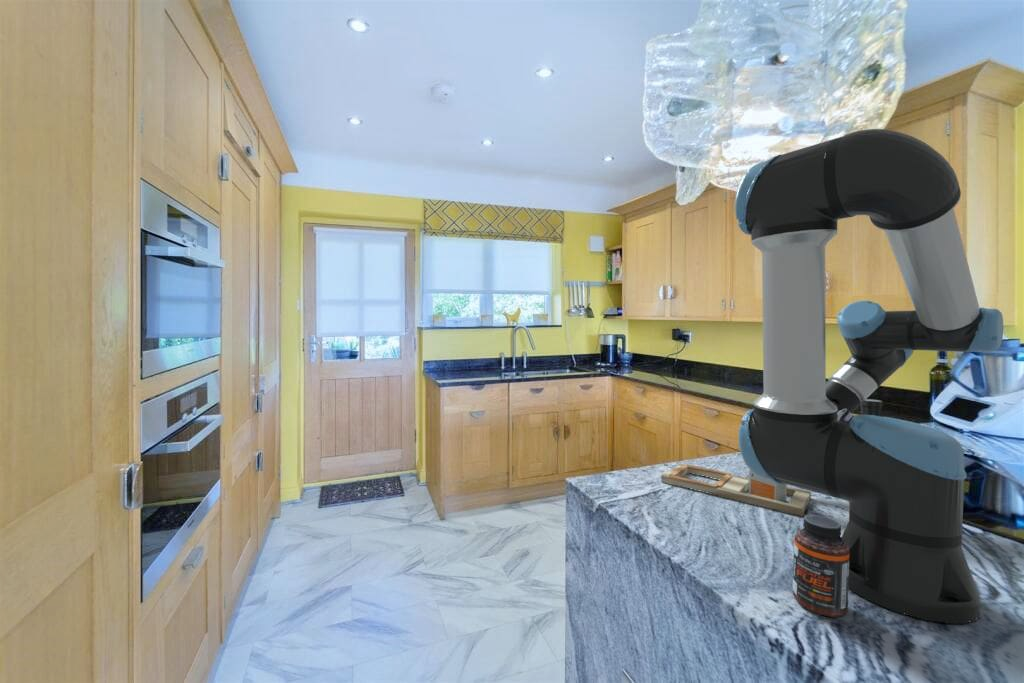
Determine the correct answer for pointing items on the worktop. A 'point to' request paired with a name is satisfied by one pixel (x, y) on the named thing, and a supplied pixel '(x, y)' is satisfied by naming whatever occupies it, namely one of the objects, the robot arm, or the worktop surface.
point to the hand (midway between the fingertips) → (772, 460)
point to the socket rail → (735, 488)
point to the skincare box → (766, 487)
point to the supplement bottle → (821, 567)
